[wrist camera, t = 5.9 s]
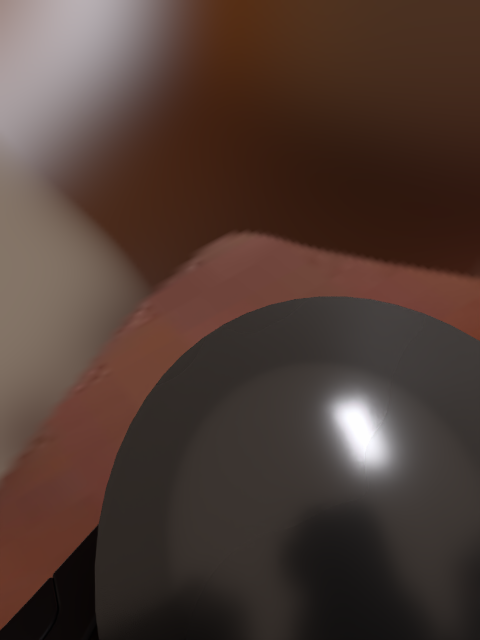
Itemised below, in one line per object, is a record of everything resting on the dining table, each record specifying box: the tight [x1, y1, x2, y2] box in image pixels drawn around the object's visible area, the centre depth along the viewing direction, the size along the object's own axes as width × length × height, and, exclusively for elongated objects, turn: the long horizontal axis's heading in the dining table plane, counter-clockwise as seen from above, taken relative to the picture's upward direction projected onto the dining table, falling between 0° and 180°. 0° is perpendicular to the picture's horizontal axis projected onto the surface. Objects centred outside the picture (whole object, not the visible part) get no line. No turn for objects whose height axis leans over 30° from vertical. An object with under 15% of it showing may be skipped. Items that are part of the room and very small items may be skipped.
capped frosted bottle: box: [95, 297, 480, 640], centre depth 8 cm, size 5×5×12 cm
